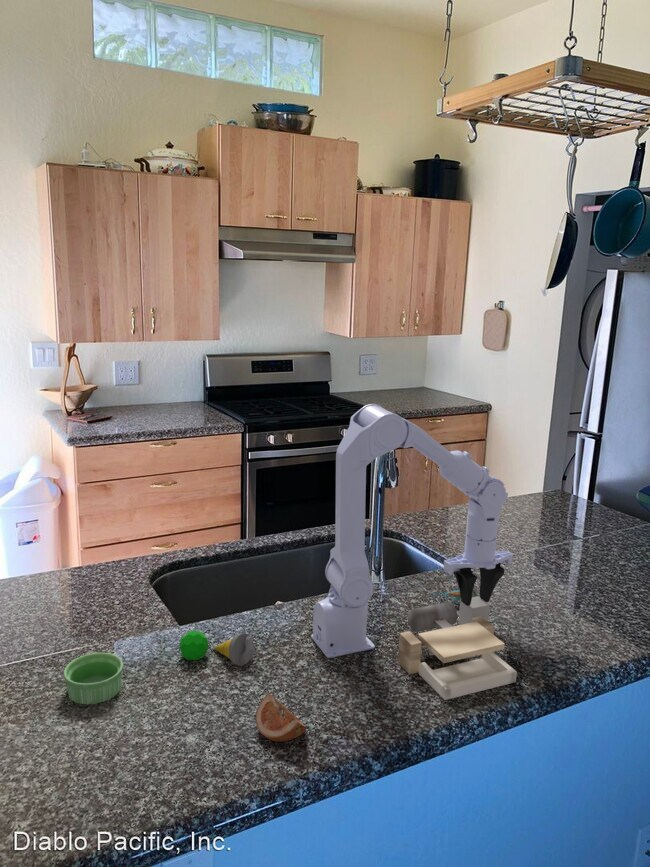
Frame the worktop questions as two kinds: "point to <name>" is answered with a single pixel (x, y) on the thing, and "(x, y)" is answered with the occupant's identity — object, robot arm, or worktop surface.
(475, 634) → the trapdoor
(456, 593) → the dragon figurine
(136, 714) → the worktop surface
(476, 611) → the grey rectangular block
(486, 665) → the tray
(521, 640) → the worktop surface
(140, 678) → the worktop surface
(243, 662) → the ice cream cone
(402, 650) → the trapdoor posts
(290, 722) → the fruit slice
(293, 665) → the worktop surface
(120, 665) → the ramekin
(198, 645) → the polyhedron
